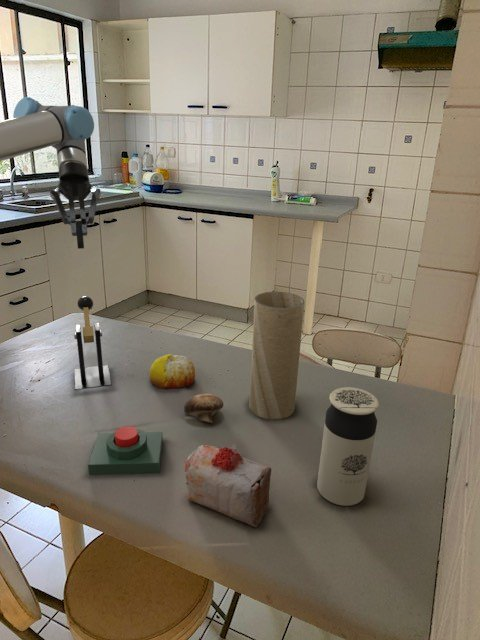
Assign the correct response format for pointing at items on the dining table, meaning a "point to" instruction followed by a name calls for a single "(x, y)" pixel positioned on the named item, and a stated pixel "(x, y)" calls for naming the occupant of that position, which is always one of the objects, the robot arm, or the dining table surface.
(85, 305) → the lever
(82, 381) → the bracket
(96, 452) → the button box
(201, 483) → the food item
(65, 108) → the robot arm
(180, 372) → the fruit
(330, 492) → the travel mug
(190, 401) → the mushroom
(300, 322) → the tube
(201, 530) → the dining table surface
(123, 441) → the button
